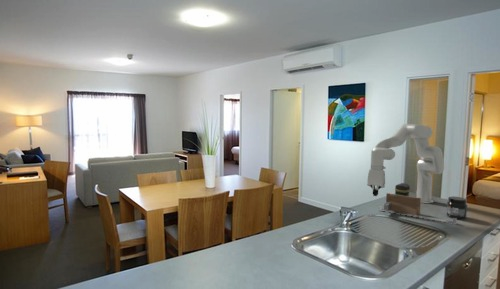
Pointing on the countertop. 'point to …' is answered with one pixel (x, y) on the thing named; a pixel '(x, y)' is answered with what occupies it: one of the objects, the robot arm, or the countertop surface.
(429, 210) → the countertop surface
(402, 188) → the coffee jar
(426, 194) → the robot arm
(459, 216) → the supplement container
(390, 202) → the walnut screen
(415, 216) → the grey rail
